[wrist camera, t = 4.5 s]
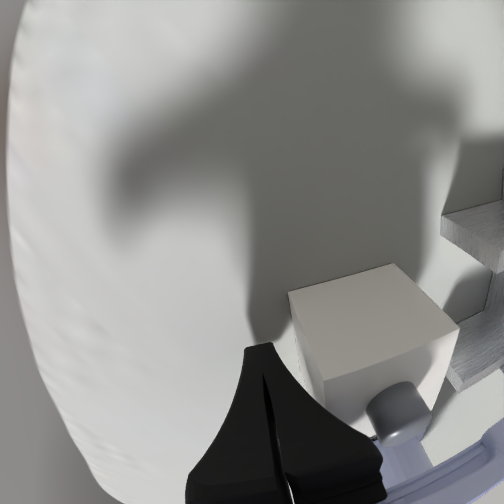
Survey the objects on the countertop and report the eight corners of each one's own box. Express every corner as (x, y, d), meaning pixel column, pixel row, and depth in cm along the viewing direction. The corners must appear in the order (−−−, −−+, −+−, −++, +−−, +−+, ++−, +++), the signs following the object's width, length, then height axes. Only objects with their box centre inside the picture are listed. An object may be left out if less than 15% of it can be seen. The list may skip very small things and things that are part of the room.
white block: (388, 343, 15) (446, 433, 9) (300, 370, 15) (336, 480, 9) (393, 262, 13) (484, 355, 7) (287, 291, 13) (338, 421, 7)
